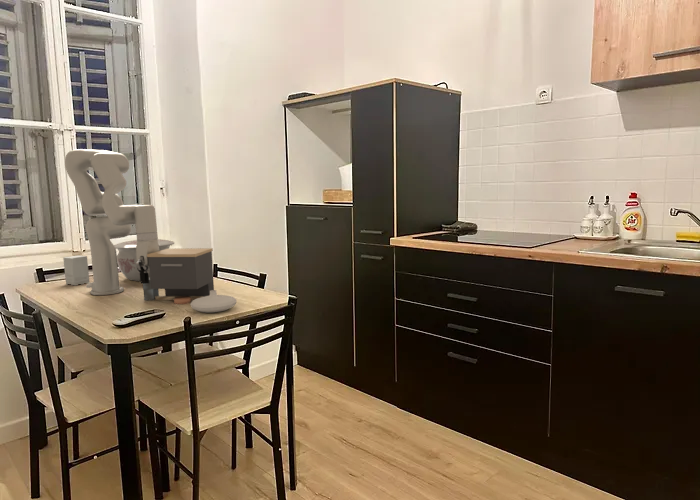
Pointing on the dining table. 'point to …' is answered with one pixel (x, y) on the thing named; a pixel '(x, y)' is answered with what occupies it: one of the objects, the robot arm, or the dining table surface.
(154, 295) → the grey block with handle
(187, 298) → the coaster
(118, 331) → the dining table surface
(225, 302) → the grey domed lid
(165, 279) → the cabinet
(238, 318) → the dining table surface
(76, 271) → the supplement box
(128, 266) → the chamber pot
